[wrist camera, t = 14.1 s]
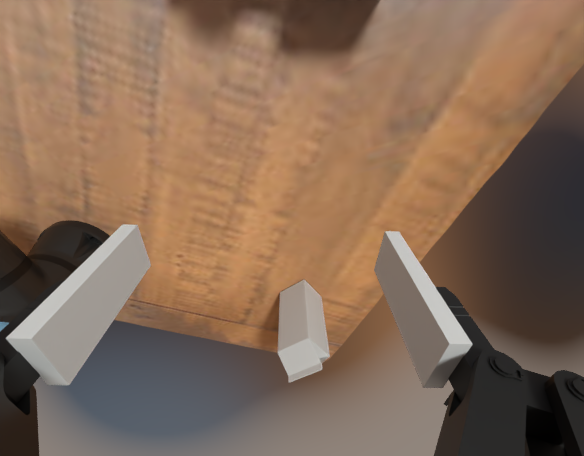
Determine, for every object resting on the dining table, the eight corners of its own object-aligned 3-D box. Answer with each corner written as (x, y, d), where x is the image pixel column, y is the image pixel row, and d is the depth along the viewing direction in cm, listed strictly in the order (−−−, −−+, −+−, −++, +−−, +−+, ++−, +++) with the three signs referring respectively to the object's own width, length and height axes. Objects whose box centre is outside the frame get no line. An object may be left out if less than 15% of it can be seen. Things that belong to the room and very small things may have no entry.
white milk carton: (279, 292, 61) (276, 373, 45) (304, 278, 58) (310, 359, 42) (297, 308, 64) (300, 390, 48) (321, 296, 62) (333, 377, 46)
